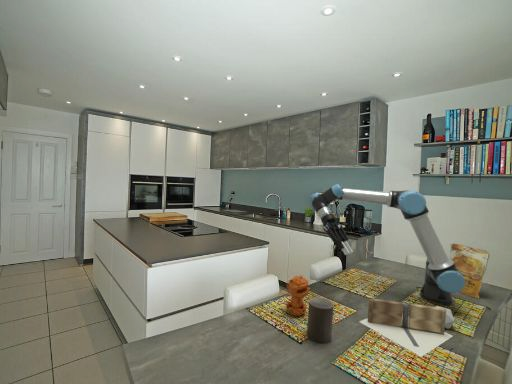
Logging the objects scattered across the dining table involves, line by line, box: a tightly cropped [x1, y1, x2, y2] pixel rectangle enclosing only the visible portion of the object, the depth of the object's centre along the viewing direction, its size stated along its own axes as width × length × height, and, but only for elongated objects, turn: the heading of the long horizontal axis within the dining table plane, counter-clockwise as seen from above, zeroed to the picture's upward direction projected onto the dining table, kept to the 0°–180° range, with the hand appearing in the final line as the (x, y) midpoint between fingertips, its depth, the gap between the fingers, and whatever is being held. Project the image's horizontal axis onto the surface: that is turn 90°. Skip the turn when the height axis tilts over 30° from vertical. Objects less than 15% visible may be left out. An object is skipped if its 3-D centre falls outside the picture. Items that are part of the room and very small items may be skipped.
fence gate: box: [367, 298, 404, 327], centre depth 115 cm, size 14×2×10 cm, turn 78°
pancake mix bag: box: [449, 243, 490, 299], centre depth 156 cm, size 7×19×28 cm, turn 24°
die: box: [435, 305, 455, 330], centre depth 117 cm, size 8×9×10 cm
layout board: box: [358, 315, 454, 359], centre depth 112 cm, size 27×26×1 cm
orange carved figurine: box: [285, 274, 311, 317], centre depth 121 cm, size 11×11×18 cm
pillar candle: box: [306, 297, 334, 344], centre depth 104 cm, size 10×10×15 cm
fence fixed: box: [402, 302, 447, 335], centre depth 111 cm, size 16×2×10 cm, turn 78°
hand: (349, 253), depth 133 cm, fingers open, 2 cm apart
